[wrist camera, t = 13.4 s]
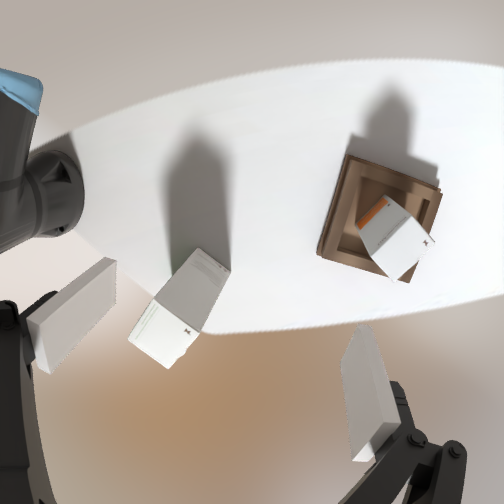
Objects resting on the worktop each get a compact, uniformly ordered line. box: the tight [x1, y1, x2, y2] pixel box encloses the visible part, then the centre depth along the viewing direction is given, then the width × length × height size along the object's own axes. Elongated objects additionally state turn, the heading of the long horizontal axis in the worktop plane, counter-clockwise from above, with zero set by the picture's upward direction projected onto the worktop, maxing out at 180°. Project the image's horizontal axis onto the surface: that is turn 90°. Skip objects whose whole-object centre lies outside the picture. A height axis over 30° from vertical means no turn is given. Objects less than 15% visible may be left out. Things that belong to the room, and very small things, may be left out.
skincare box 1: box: [127, 248, 231, 369], centre depth 40 cm, size 8×7×16 cm
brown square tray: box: [316, 154, 443, 283], centre depth 39 cm, size 14×14×3 cm
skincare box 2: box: [355, 195, 435, 282], centre depth 34 cm, size 6×4×12 cm
